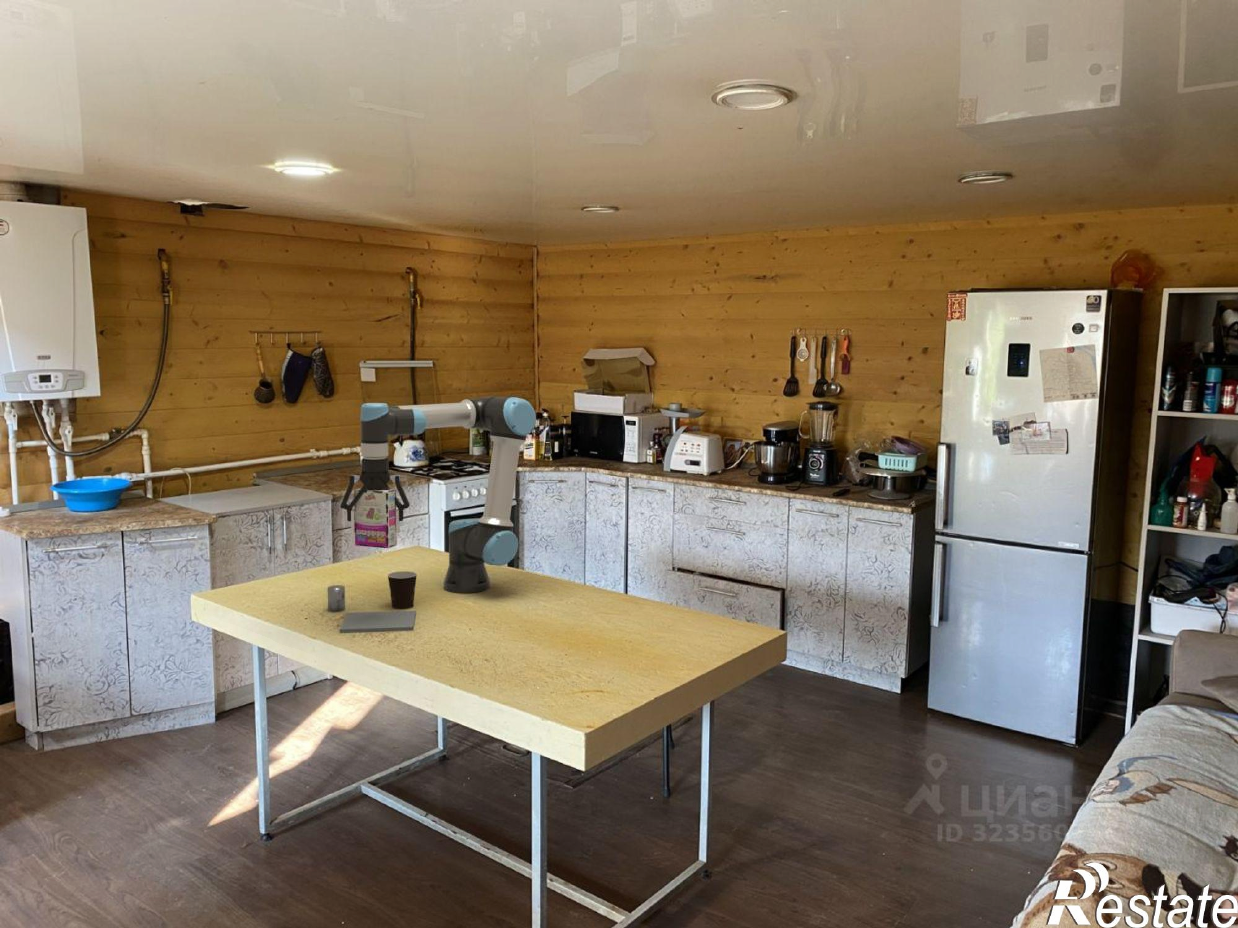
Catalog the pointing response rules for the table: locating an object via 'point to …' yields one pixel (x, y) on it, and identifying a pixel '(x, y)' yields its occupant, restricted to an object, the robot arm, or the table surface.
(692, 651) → the table surface
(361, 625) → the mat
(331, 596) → the metal canister
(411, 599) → the coffee mug
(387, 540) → the candy bar box
